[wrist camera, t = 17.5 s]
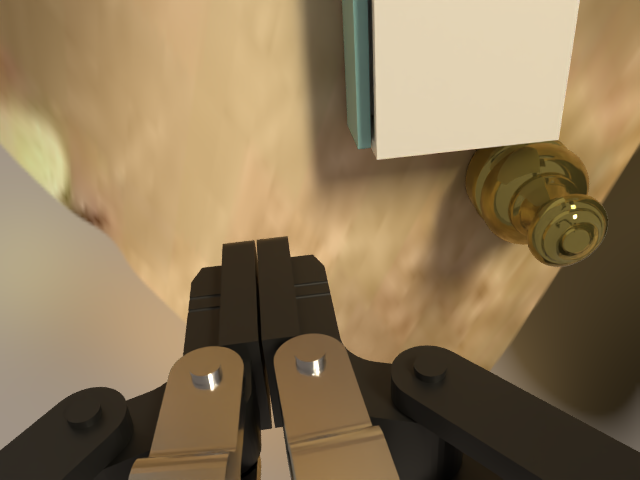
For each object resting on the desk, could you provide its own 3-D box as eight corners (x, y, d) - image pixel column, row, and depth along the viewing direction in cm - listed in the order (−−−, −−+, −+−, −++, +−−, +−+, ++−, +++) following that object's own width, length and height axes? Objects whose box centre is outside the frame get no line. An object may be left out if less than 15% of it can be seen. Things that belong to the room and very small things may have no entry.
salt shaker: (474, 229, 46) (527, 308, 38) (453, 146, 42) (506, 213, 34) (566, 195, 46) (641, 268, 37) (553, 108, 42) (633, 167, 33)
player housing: (351, -115, 33) (372, -113, 28) (545, -130, 34) (599, -131, 29) (359, 124, 41) (376, 159, 36) (519, 107, 41) (558, 139, 36)
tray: (337, -109, 33) (349, -107, 30) (529, -124, 34) (563, -124, 30) (347, 125, 40) (358, 149, 37) (506, 108, 41) (531, 130, 37)
